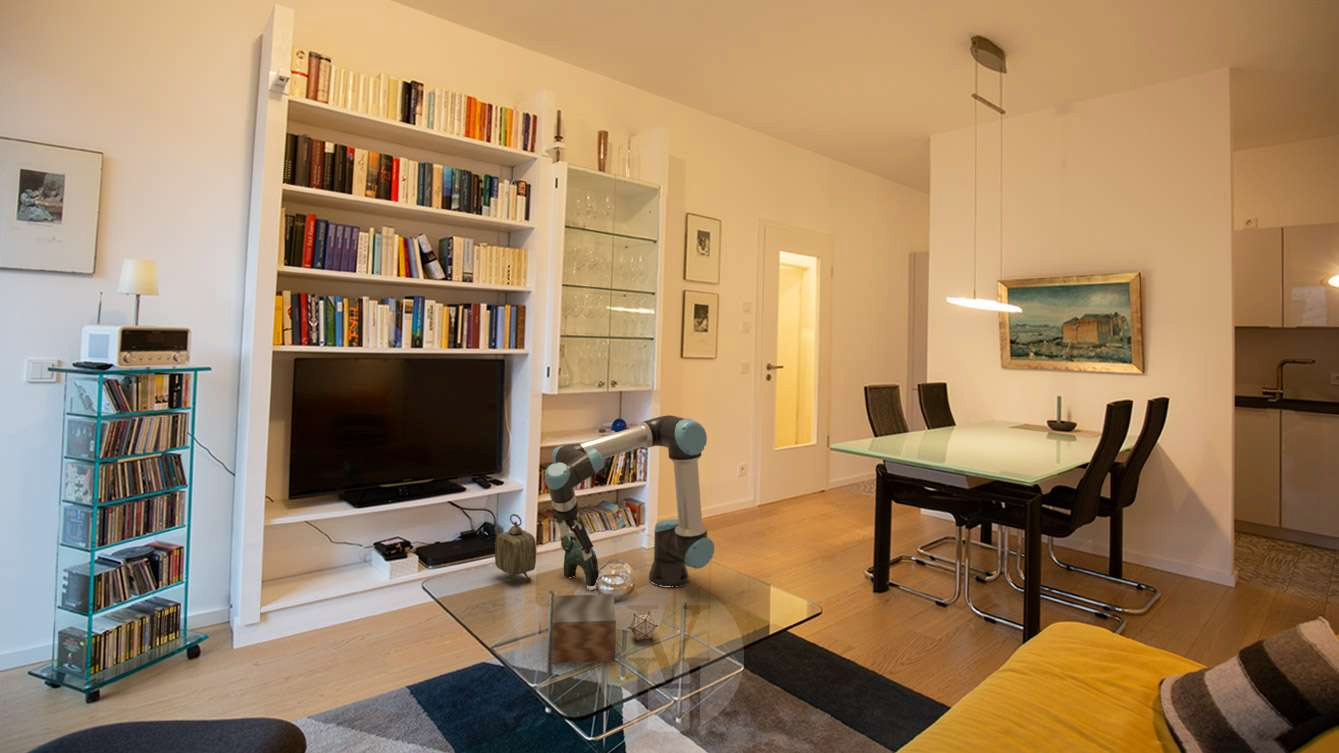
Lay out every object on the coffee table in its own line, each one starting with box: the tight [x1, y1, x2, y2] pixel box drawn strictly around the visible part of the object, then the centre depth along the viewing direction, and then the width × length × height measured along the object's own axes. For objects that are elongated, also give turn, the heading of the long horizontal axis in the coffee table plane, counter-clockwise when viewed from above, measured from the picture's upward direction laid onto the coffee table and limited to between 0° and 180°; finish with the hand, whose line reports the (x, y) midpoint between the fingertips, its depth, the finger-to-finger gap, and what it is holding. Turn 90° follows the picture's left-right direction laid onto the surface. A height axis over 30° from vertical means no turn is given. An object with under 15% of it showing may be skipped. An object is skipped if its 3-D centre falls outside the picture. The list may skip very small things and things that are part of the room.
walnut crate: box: [551, 593, 617, 664], centre depth 192 cm, size 18×18×12 cm
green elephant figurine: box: [560, 532, 600, 586], centre depth 239 cm, size 20×6×20 cm, turn 42°
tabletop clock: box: [494, 513, 537, 583], centre depth 239 cm, size 14×9×25 cm, turn 48°
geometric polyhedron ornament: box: [627, 611, 659, 643], centre depth 197 cm, size 9×8×10 cm
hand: (576, 545), depth 217 cm, fingers open, 13 cm apart
